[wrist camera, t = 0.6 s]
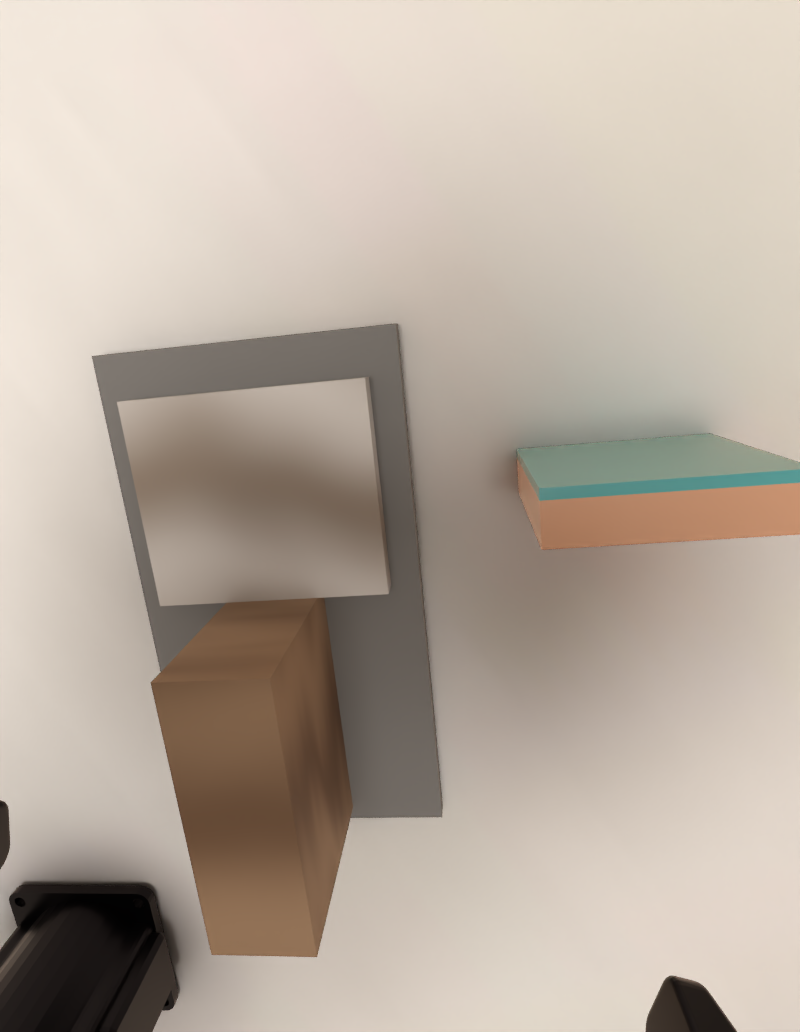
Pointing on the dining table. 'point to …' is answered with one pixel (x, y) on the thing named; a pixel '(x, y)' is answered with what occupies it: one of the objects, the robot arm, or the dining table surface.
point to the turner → (259, 637)
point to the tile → (657, 491)
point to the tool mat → (351, 619)
